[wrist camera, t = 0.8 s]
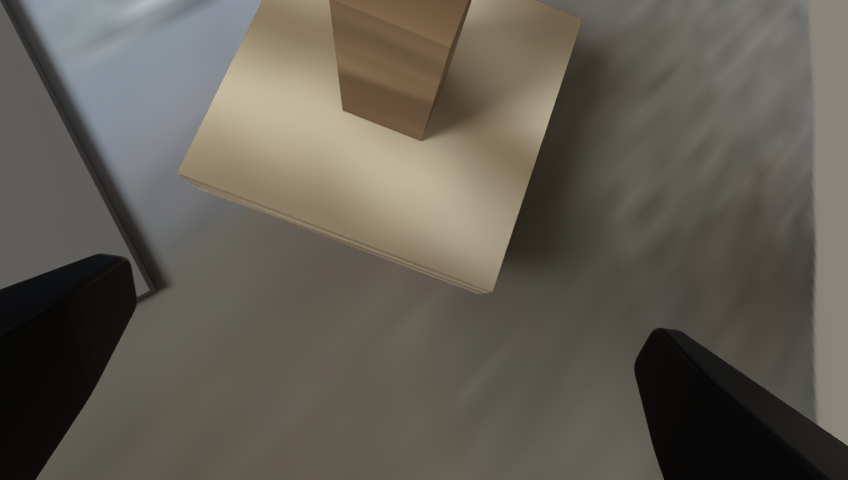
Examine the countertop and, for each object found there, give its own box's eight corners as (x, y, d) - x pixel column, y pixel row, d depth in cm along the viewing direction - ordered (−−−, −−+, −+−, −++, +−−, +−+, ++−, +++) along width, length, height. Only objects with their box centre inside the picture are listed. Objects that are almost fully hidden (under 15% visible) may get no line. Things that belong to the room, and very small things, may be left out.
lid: (478, 294, 18) (564, 278, 10) (198, 189, 17) (61, 86, 10) (561, 48, 20) (684, -120, 12) (314, -54, 20) (280, -299, 12)
